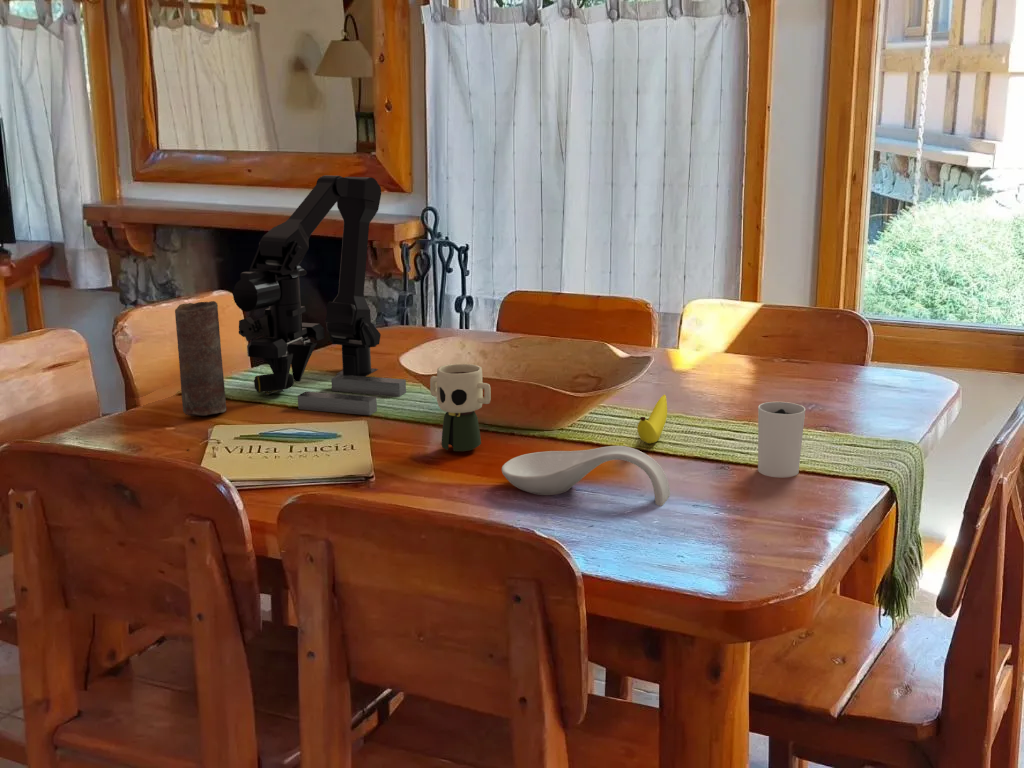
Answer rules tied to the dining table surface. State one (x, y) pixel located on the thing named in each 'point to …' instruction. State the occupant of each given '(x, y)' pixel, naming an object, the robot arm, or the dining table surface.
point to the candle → (200, 359)
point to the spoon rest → (577, 469)
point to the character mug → (460, 403)
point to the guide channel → (352, 402)
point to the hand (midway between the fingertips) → (289, 385)
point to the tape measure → (270, 383)
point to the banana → (653, 422)
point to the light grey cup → (780, 438)
